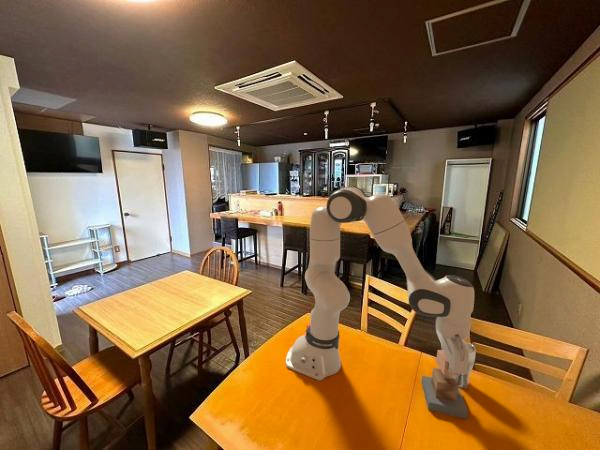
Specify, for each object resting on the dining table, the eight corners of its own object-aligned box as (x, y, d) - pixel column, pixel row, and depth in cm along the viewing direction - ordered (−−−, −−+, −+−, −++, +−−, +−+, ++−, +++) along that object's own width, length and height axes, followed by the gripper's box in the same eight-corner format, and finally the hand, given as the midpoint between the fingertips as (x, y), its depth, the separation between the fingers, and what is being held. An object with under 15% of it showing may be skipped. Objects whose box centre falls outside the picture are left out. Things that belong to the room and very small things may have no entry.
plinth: (428, 409, 78) (429, 402, 77) (421, 382, 88) (422, 375, 87) (467, 419, 74) (468, 411, 74) (455, 389, 85) (456, 382, 84)
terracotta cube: (443, 374, 77) (445, 361, 76) (435, 362, 81) (437, 349, 80) (459, 375, 76) (461, 362, 75) (451, 363, 81) (453, 350, 80)
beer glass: (474, 391, 84) (480, 354, 81) (452, 387, 86) (458, 351, 83) (465, 375, 91) (470, 340, 88) (445, 372, 92) (449, 338, 89)
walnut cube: (435, 397, 79) (437, 381, 78) (431, 382, 84) (433, 367, 83) (456, 401, 77) (458, 386, 76) (450, 386, 83) (452, 371, 82)
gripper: (478, 350, 65) (471, 393, 68) (453, 310, 84) (449, 345, 87) (452, 346, 67) (446, 387, 70) (433, 308, 86) (429, 342, 89)
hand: (447, 363), depth 78 cm, fingers closed on terracotta cube, 5 cm apart
